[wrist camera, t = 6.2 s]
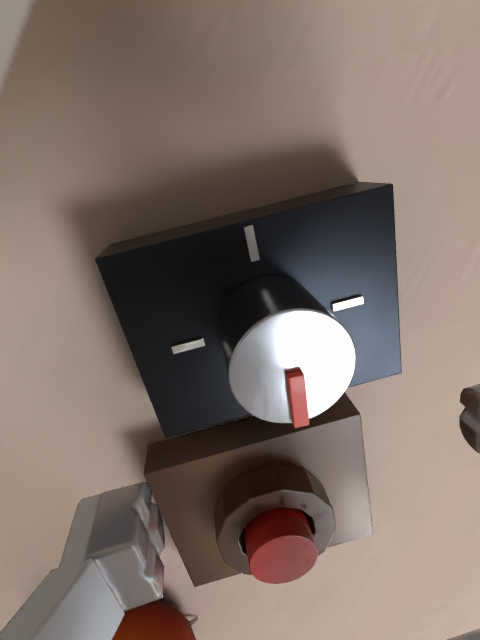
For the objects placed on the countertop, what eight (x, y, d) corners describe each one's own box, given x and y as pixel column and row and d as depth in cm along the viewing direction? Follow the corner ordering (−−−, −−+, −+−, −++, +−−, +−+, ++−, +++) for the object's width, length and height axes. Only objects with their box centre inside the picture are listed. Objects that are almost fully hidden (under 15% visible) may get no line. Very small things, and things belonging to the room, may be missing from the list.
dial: (209, 286, 15) (218, 328, 11) (313, 265, 15) (359, 299, 11) (227, 377, 16) (241, 441, 13) (320, 357, 17) (362, 414, 13)
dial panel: (167, 402, 20) (165, 441, 17) (109, 244, 16) (93, 260, 14) (373, 346, 21) (403, 374, 18) (359, 181, 17) (395, 183, 14)
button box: (193, 553, 25) (195, 619, 21) (147, 445, 21) (139, 503, 17) (358, 505, 25) (387, 561, 22) (344, 391, 21) (376, 436, 18)
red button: (251, 559, 21) (257, 591, 19) (237, 516, 19) (242, 548, 18) (311, 541, 21) (322, 572, 19) (302, 497, 19) (313, 527, 18)
